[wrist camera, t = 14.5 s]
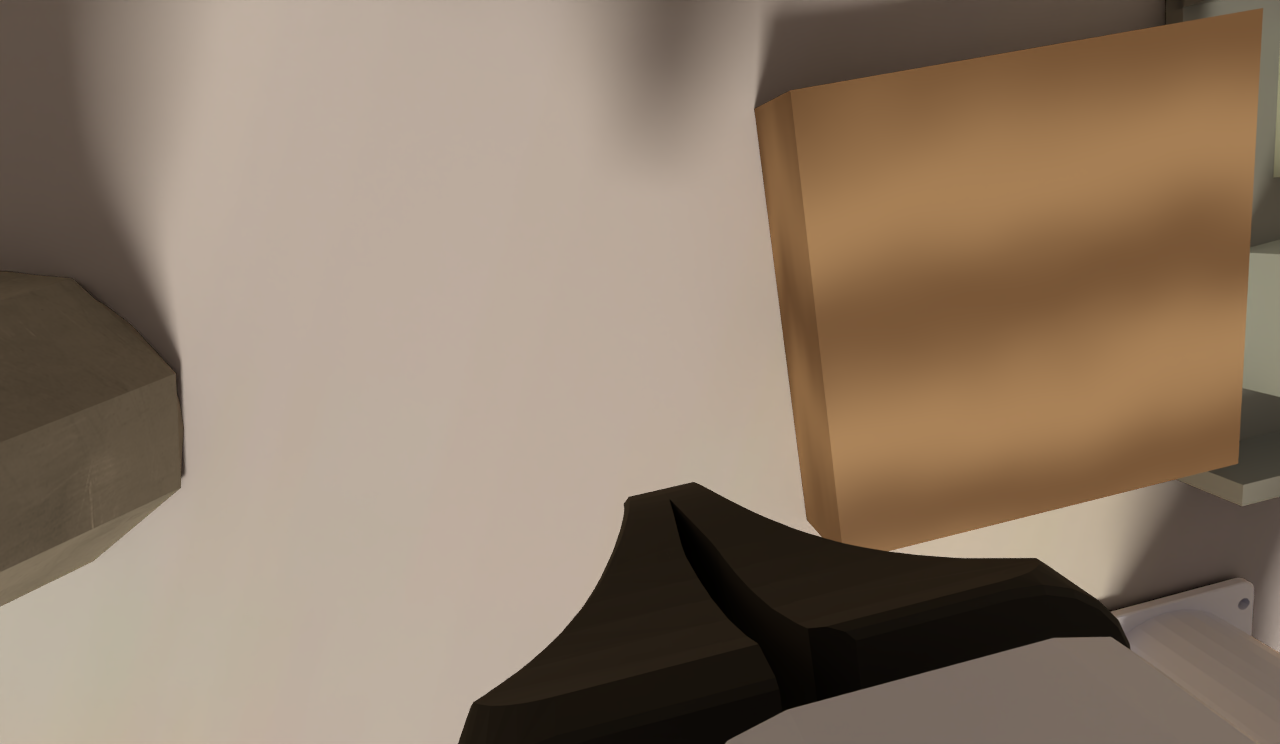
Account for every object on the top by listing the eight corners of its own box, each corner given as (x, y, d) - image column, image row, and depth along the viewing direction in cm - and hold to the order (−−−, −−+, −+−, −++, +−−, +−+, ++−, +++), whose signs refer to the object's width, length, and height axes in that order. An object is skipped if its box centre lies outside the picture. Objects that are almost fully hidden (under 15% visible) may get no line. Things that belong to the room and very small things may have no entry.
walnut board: (1157, 435, 25) (1238, 463, 22) (806, 519, 23) (843, 562, 21) (1165, 36, 21) (1263, 8, 18) (754, 108, 20) (790, 90, 17)
